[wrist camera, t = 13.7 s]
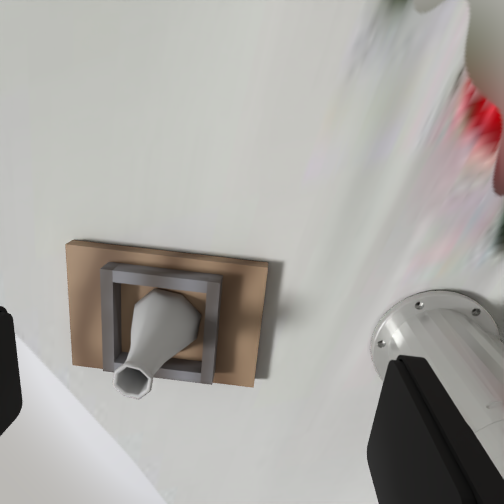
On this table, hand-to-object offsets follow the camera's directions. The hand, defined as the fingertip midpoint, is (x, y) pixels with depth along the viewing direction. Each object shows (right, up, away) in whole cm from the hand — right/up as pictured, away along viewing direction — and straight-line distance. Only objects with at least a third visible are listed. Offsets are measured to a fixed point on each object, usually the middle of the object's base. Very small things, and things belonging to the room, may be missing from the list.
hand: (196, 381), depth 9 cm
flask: (-7, -4, +30) cm, 31 cm away
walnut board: (-8, -3, +31) cm, 33 cm away
